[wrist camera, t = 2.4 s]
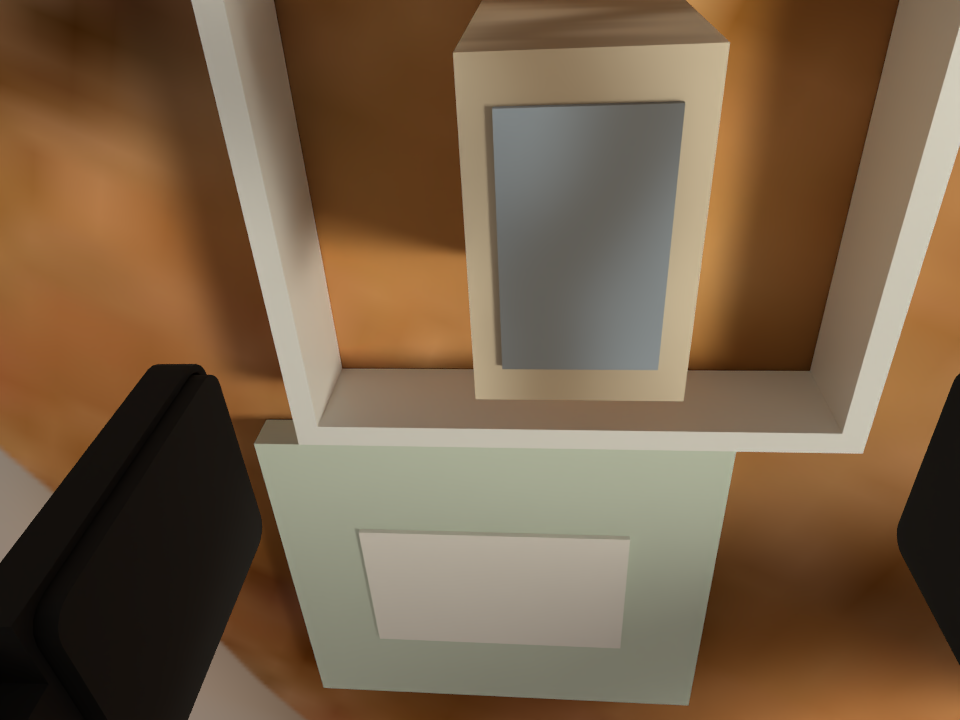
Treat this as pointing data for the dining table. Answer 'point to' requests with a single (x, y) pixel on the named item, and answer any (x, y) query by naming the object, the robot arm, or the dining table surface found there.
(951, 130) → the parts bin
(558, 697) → the sage board
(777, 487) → the dining table surface
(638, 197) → the beech box
